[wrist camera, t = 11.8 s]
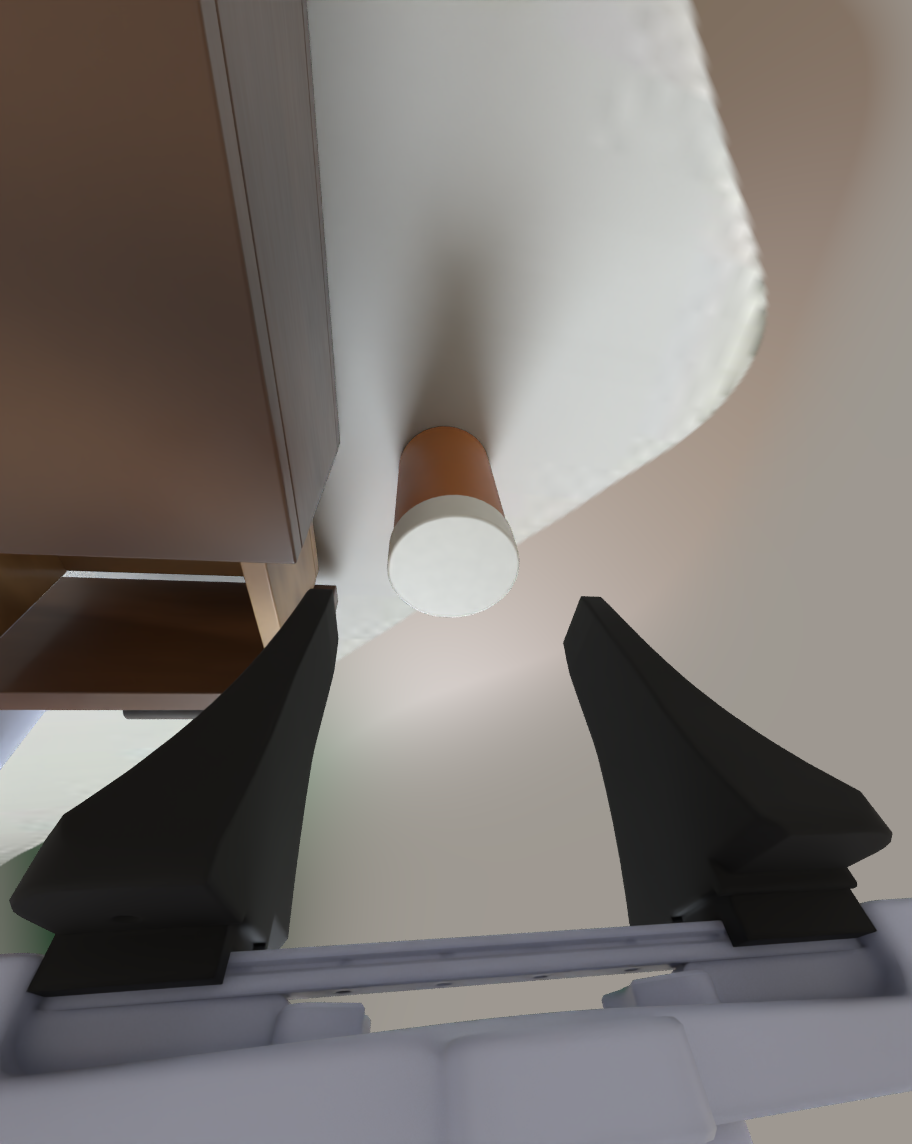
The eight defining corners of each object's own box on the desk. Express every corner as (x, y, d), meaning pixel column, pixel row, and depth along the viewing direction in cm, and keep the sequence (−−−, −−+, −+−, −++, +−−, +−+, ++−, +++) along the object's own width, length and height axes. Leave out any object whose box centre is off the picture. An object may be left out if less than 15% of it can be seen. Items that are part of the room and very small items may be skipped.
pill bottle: (396, 508, 21) (387, 617, 15) (397, 420, 18) (386, 511, 12) (483, 513, 22) (507, 619, 16) (497, 427, 19) (532, 518, 13)
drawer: (343, 650, 26) (323, 758, 21) (105, 646, 25) (20, 761, 19) (311, 338, 15) (254, 399, 10) (-115, 298, 14) (-441, 344, 9)
